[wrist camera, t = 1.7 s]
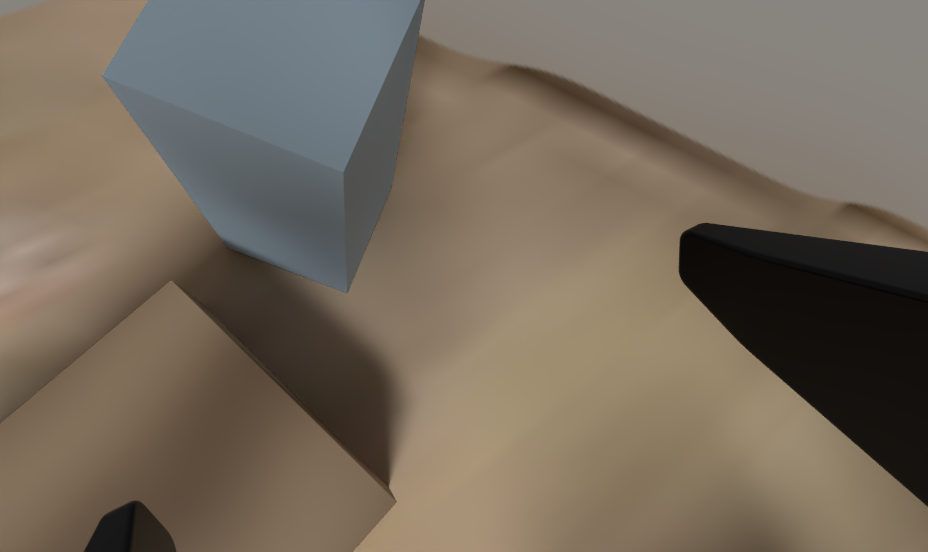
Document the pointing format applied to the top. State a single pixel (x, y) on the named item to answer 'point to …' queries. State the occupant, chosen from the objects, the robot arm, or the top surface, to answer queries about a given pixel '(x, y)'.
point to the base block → (180, 447)
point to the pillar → (276, 118)
